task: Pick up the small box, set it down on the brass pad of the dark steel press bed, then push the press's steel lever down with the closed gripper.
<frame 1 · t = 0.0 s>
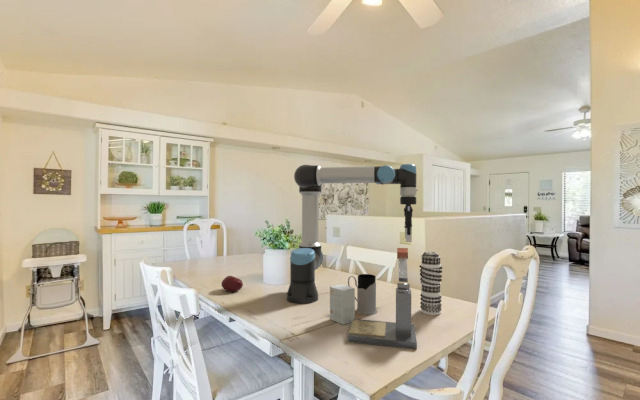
hand: (408, 240, 156), 28 cm above the table, fingers open, 13 cm apart
glass holder: (361, 310, 139), on the table
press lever: (402, 268, 119), point 22 cm above the table, hinge at 25.0°
decorative candle: (430, 312, 137), on the table
press: (379, 335, 113), on the table
small box: (342, 320, 127), on the table
heart: (230, 291, 168), on the table
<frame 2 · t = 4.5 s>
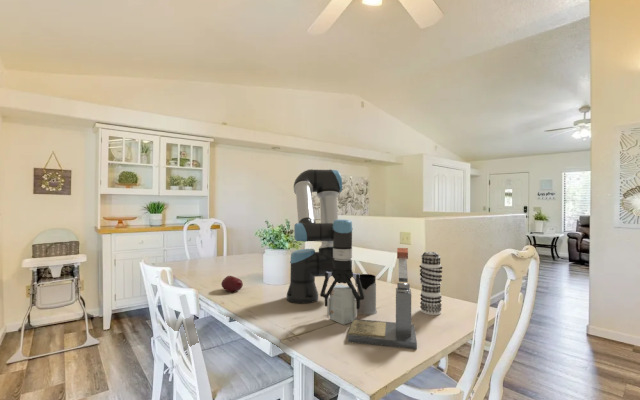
hand: (342, 315, 127), 2 cm above the table, fingers closed on small box, 10 cm apart
small box: (342, 320, 127), on the table, touching gripper
everything else where it was.
when the fingers open (5 cm above the table, at t = 11.0 s): small box drops 1 cm, resting on press.
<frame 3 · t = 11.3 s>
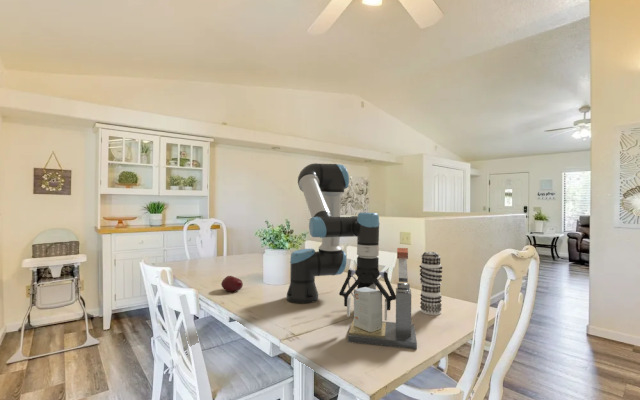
hand: (366, 317, 114), 6 cm above the table, fingers open, 12 cm apart
small box: (367, 327, 114), point 2 cm above the table, touching press
everything else where it was.
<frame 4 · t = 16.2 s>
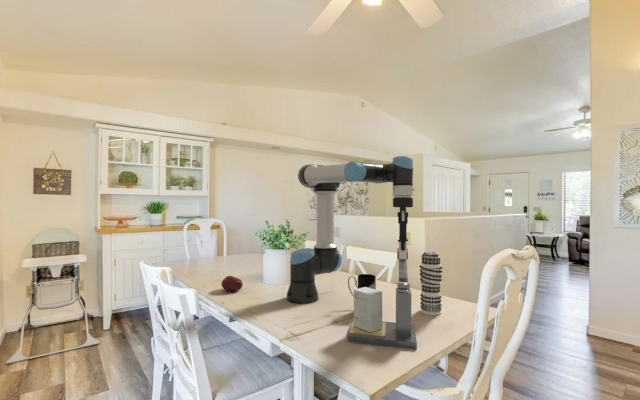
hand: (402, 258, 124), 25 cm above the table, fingers closed
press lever: (402, 268, 119), point 22 cm above the table, hinge at 24.6°, touching gripper
everything else where it was.
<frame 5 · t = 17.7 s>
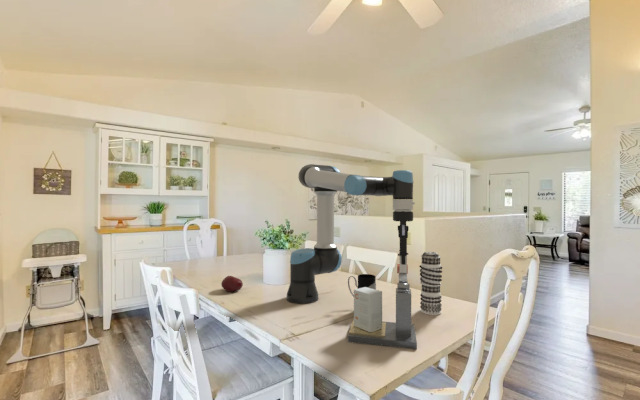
hand: (403, 272, 124), 20 cm above the table, fingers closed, pressing on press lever
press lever: (402, 276, 120), point 19 cm above the table, hinge at 4.5°, touching gripper
everything else where it was.
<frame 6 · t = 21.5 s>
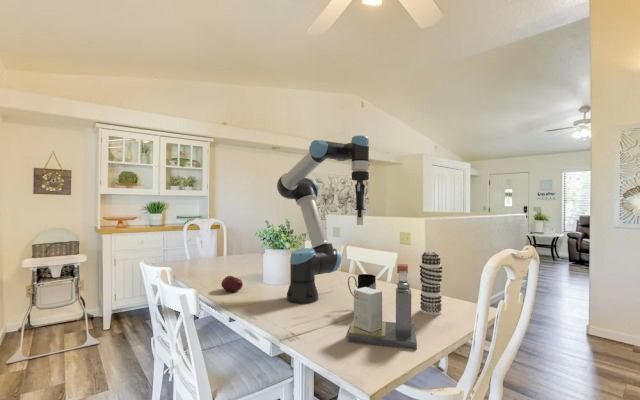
hand: (359, 224, 142), 36 cm above the table, fingers closed
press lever: (402, 276, 120), point 19 cm above the table, hinge at 4.5°
everything else where it was.
at the end: small box inside the target area on the press (0.1 cm from its centre), point 2.2 cm above the press's base; small box tilted 0°; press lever at +4° (first picture: +25°) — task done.
